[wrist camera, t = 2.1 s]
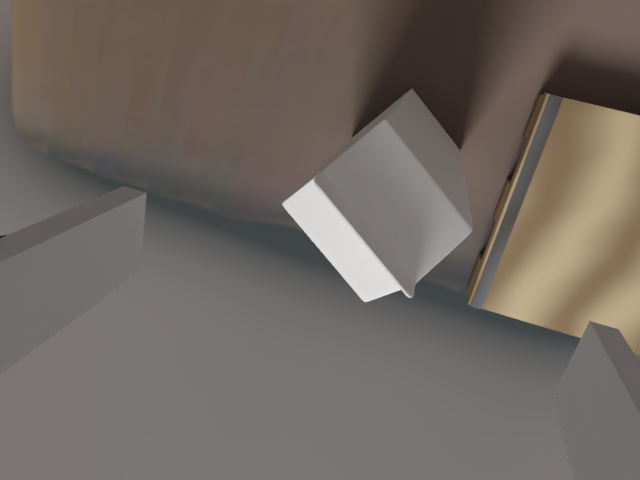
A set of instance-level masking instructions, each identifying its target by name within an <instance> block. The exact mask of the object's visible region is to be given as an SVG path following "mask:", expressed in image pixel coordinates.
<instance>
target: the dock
mask: <svg viewBox="0 0 640 480" xmlns="http://www.w3.org/2000/svg"><path fill="white" fill-rule="evenodd" d="M523 136H524V137H525V138H526V142H525V144H524V147H523V150H522V152H521V155H520V158H519V160H518V163H517V166H516V168H515V171H514V174H513V176H512V179H508V178H507V179H506V182H505V185H504V187H503V190H502V193H501V196H500V198H499V201H498V204H497V206H496V209H495V212H494V214H493V216H494V219H495V225H494V227H493V230H492V233H491V235H490V238H489V241H488V243H487V246H486V249H485V251H484V254H481V253H479V255H478V258H477V260H476V263H475V266H474V269H473V271H472V274H471V277H470V279H469V282H468V285H467V290H468V297H467V300H468V304H469V305H470V306H471V307H474V308H478V309H481V308H482V309H485V310H488V311H492V312H495V313H499V314H502V315H505V316H509V317H512V318H515V319H519V320H522V321H525V322H529V323H533V324H536V325H539V326H543V327H546V328H549V329H553V330H556V331H559V332H563V333H566V334H569V335H573V336H576V337H579V338H582V335H583V333H584V331H585V329H586V327H587V325H588V323H589V321H592V322H595V323H599V324H602V325H605V326H609V327H612V328H616V329H619V330H620V332H621V334H622V335H623V337H624V338H625V340H626V342H627V343H628V345H629V346H630V348H631V350H632V351H633V353H634V354H637V355H640V115H637V114H633V113H628V112H624V111H620V110H616V109H612V108H607V107H603V106H599V105H595V104H591V103H587V102H582V101H578V100H574V99H570V98H566V97H561V96H557V95H553V94H549V93H545V92H544V93H543V94H539V93H538V95H537V98H536V101H535V104H534V106H533V109H532V112H531V114H530V117H529V120H528V122H527V125H526V128H525V131H524V133H523Z"/></svg>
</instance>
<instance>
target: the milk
mask: <svg viewBox="0 0 640 480" xmlns="http://www.w3.org/2000/svg"><path fill="white" fill-rule="evenodd" d="M282 205H283V207H284V208H285V209H286V210H287V211H288V213H289V214H290V215H291V216H292V217H293V219H294V220H295V221H296V222H297V223H298V224H299V226H300V227H301V228H302V229H303V230H304V232H305V233H306V234H307V235H308V236H309V237H310V239H311V240H312V241H313V242H314V243H315V244H316V246H317V247H318V248H319V249H320V251H321V252H322V253H323V254H324V255H325V256H326V258H327V259H328V260H329V261H330V262H331V263H332V265H333V266H334V267H335V268H336V269H337V271H338V272H339V273H340V274H341V275H342V276H343V278H344V279H345V280H346V281H347V283H348V284H349V285H350V286H351V287H352V288H353V290H354V291H355V292H356V293H357V294H358V296H359V297H360V298H361V299H362V300H363V301H364V302H368V301H371V300H373V299H376V298H379V297H382V296H385V295H387V294H390V293H393V292H396V291H399V290H402V291H403V292H404V294H405V295H406V296H407V297H409V298H412V297H413V296H414V289H415V284H416V283H417V282H418V281H419V280H420V279H421V278H422V277H423V276H425V275H426V274H427V273H428V272H429V271H430V270H431V269H432V268H433V267H434V266H435V265H437V264H438V263H439V262H440V261H441V260H442V259H443V258H444V257H445V256H446V255H447V254H449V253H450V252H451V251H452V250H453V249H454V248H455V247H456V246H457V245H458V244H459V243H461V242H462V241H463V240H464V239H465V238H466V237H467V236H468V235H469V234H470V233H471V232H472V231H473V226H472V220H471V214H470V208H469V202H468V195H467V189H466V183H465V177H464V170H463V164H462V158H461V152H460V149H459V148H458V147H457V145H456V144H455V143H454V141H453V140H452V139H451V138H450V136H449V135H448V134H447V132H446V131H445V130H444V129H443V127H442V126H441V125H440V123H439V122H438V121H437V120H436V118H435V117H434V116H433V114H432V113H431V112H430V111H429V109H428V108H427V107H426V105H425V104H424V103H423V102H422V100H421V99H420V98H419V96H418V95H417V94H416V92H415V91H414V90H413V89H410V90H409V91H407V92H406V93H405V94H404V95H403V96H401V97H400V98H399V99H398V100H397V101H395V102H394V103H393V104H392V105H391V106H389V107H388V108H387V109H386V110H385V111H383V112H382V113H381V114H380V115H379V116H377V117H376V118H375V119H374V120H373V121H371V122H370V123H369V124H368V125H367V126H365V127H364V128H363V129H362V130H361V131H359V132H358V133H357V134H356V135H355V136H353V137H352V138H351V139H350V140H349V141H348V142H347V143H346V144H345V145H344V146H343V147H341V148H340V149H339V150H338V151H337V152H336V153H335V154H334V155H333V156H332V157H331V158H330V159H329V160H328V161H327V162H325V163H324V164H323V165H322V166H321V167H320V168H319V169H318V170H317V171H316V172H315V173H314V174H313V175H312V176H310V177H309V178H308V179H307V180H306V181H305V182H304V183H303V184H302V185H301V186H300V187H299V188H298V189H297V190H295V191H294V192H293V193H292V194H291V195H290V196H289V197H288V198H287V199H286V200H285V201H284V202H283V203H282Z"/></svg>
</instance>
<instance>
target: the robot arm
mask: <svg viewBox="0 0 640 480" xmlns="http://www.w3.org/2000/svg"><path fill="white" fill-rule="evenodd" d="M146 194H147V193H145V192H142V191H138V190H135V189H131V188H128V187H121V188H119V189H117V190H114V191H111V192H109V193H107V194H104V195H102V196H100V197H97V198H95V199H92V200H90V201H88V202H85V203H83V204H80V205H78V206H76V207H73V208H71V209H68V210H66V211H64V212H61V213H59V214H57V215H54V216H52V217H49V218H47V219H45V220H42V221H40V222H38V223H35V224H33V225H30V226H28V227H25V228H23V229H21V230H19V231H16V232H14V233H11V234H9V235H4V236H0V374H1V373H2V372H4V371H5V370H6V369H8V368H9V367H11V366H12V365H13V364H15V363H16V362H18V361H19V360H20V359H22V358H23V357H24V356H25V355H27V354H29V353H30V352H31V351H33V350H34V349H35V348H37V347H38V346H39V345H41V344H42V343H44V342H45V341H47V340H48V339H49V338H51V337H52V336H53V335H55V334H56V333H58V332H59V331H60V330H62V329H63V328H64V327H66V326H67V325H69V324H70V323H71V322H73V321H74V320H75V319H77V318H78V317H80V316H81V315H82V314H84V313H85V312H87V311H88V310H89V309H91V308H92V307H93V306H95V305H96V304H98V303H99V302H100V301H102V300H103V299H104V298H106V297H107V296H108V295H110V294H111V293H113V292H114V291H115V290H117V289H118V288H119V287H121V286H122V285H124V284H125V283H126V282H128V281H129V280H130V279H132V278H133V277H135V276H136V275H138V274H139V273H140V264H141V253H142V242H143V229H144V217H145V207H146ZM551 403H552V406H553V410H554V413H555V416H556V419H557V423H558V426H559V429H560V433H561V436H562V439H563V442H564V446H565V449H566V452H567V456H568V459H569V462H570V466H571V469H572V472H573V475H574V479H575V480H640V362H639V361H638V359H637V358H636V356H635V354H634V353H633V351H632V350H631V348H630V346H629V345H628V343H627V342H626V340H625V338H624V337H623V335H622V334H621V332H620V330H619V329H616V328H612V327H609V326H605V325H602V324H599V323H595V322H592V321H589V323H588V325H587V327H586V329H585V331H584V333H583V335H582V338H581V340H580V342H579V344H578V346H577V348H576V350H575V352H574V354H573V356H572V358H571V360H570V362H569V365H568V367H567V369H566V371H565V373H564V375H563V377H562V379H561V381H560V383H559V385H558V387H557V389H556V391H555V394H554V396H553V398H552V400H551Z"/></svg>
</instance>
